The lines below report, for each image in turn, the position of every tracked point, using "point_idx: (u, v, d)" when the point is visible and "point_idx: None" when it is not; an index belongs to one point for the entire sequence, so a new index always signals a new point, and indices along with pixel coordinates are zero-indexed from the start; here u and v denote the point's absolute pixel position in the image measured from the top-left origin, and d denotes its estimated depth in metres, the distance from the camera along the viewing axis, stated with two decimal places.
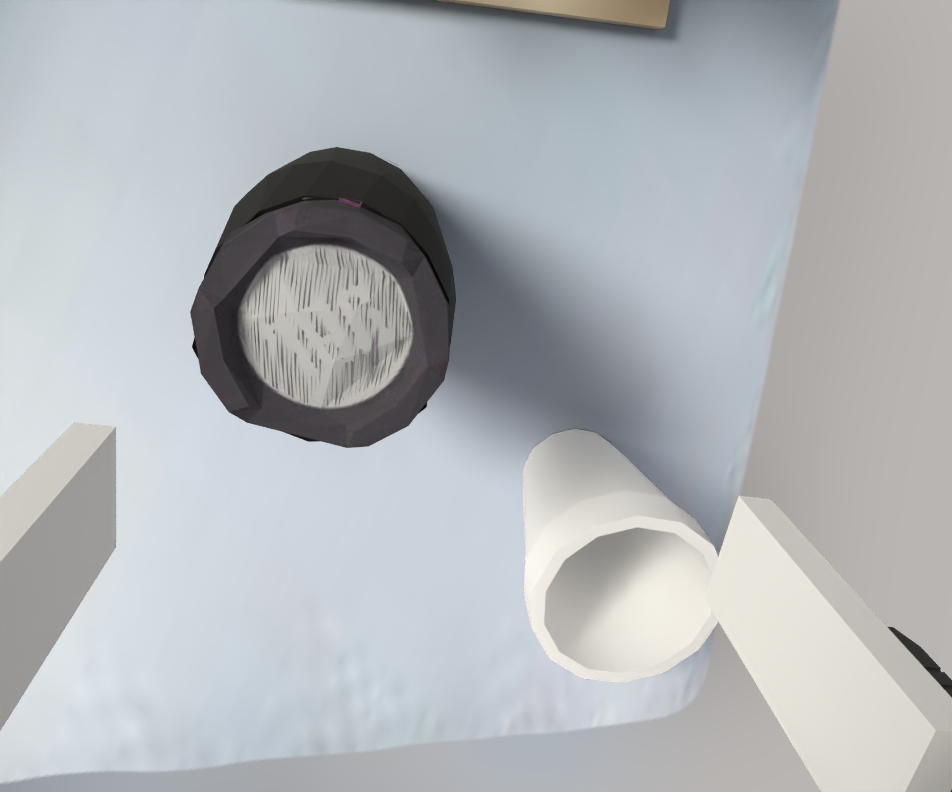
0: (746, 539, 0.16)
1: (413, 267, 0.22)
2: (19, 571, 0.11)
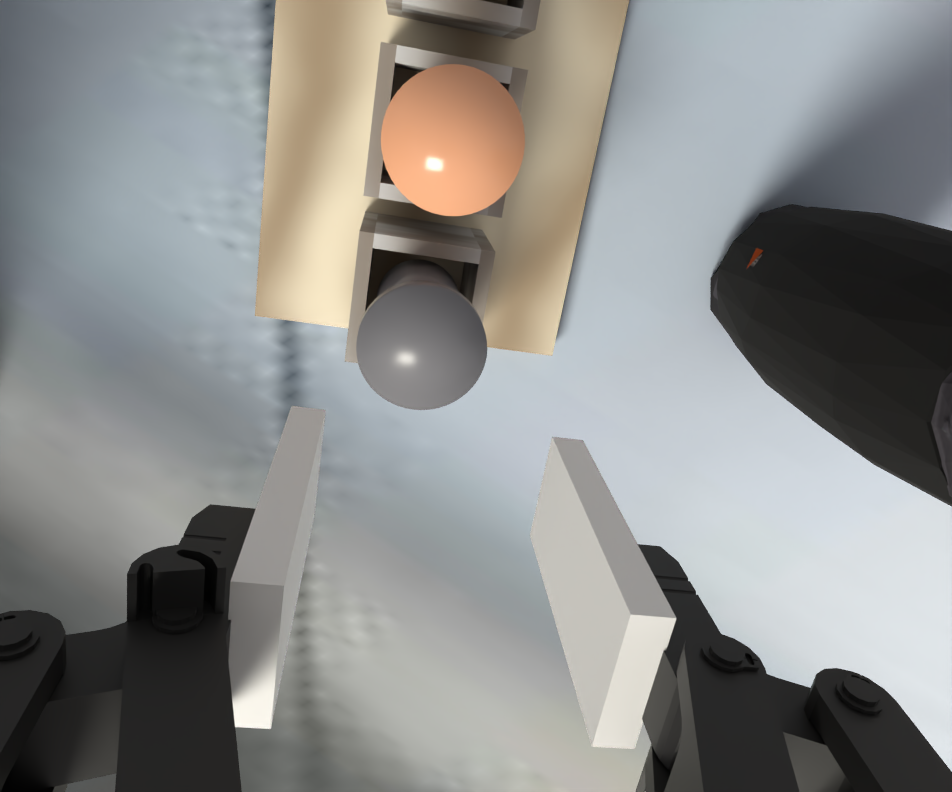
0: (553, 475, 0.17)
1: None
2: (302, 523, 0.13)
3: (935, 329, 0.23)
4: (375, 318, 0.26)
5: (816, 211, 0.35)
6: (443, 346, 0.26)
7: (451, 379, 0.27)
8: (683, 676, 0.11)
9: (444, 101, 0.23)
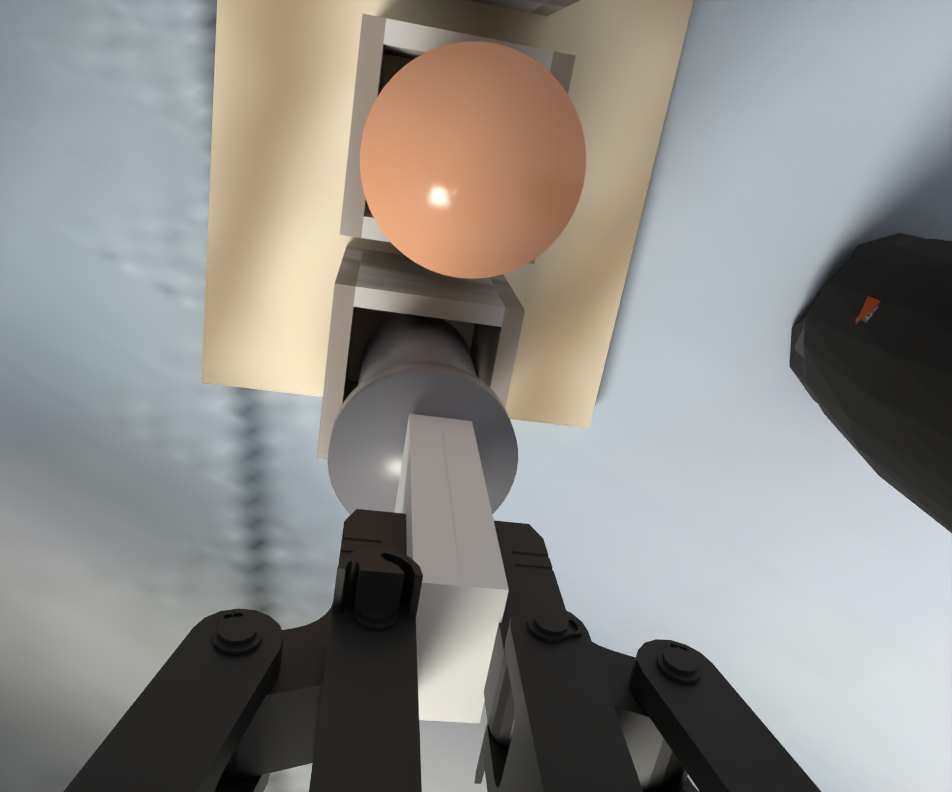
0: None
1: None
2: None
3: None
4: (356, 419, 0.18)
5: (945, 246, 0.26)
6: None
7: None
8: (511, 655, 0.11)
9: (460, 101, 0.15)
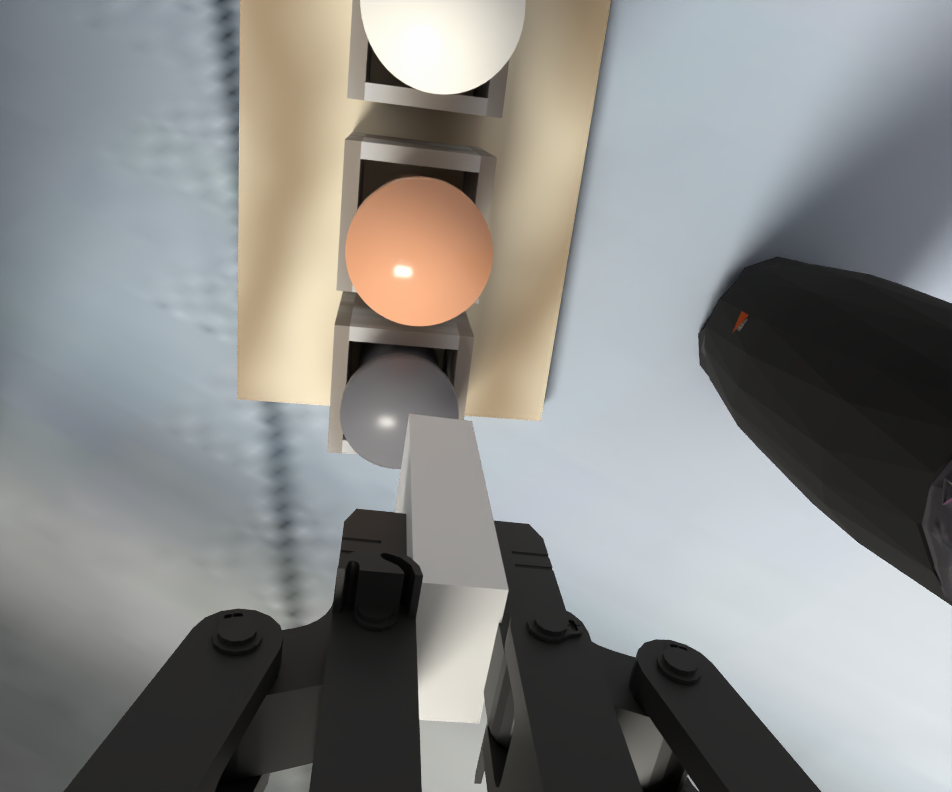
0: None
1: None
2: None
3: (922, 426, 0.23)
4: (356, 391, 0.29)
5: (801, 269, 0.34)
6: (418, 412, 0.29)
7: None
8: (511, 655, 0.11)
9: (408, 215, 0.23)
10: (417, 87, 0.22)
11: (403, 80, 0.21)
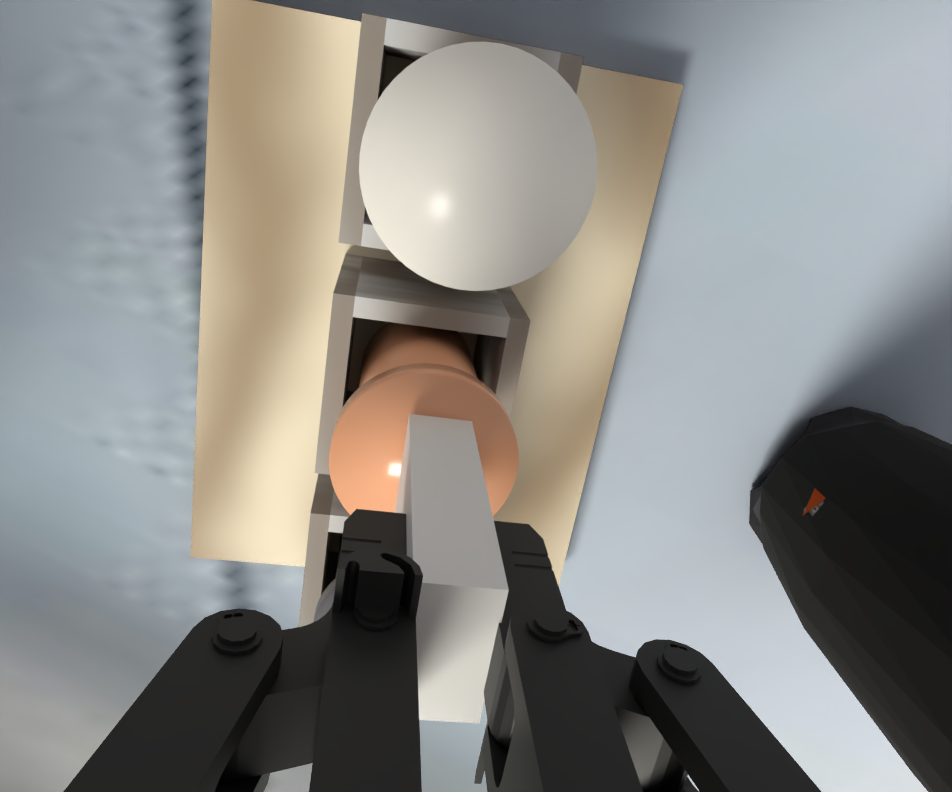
0: None
1: None
2: None
3: None
4: None
5: (888, 439, 0.28)
6: None
7: None
8: (511, 655, 0.11)
9: None
10: (435, 280, 0.15)
11: (416, 270, 0.15)
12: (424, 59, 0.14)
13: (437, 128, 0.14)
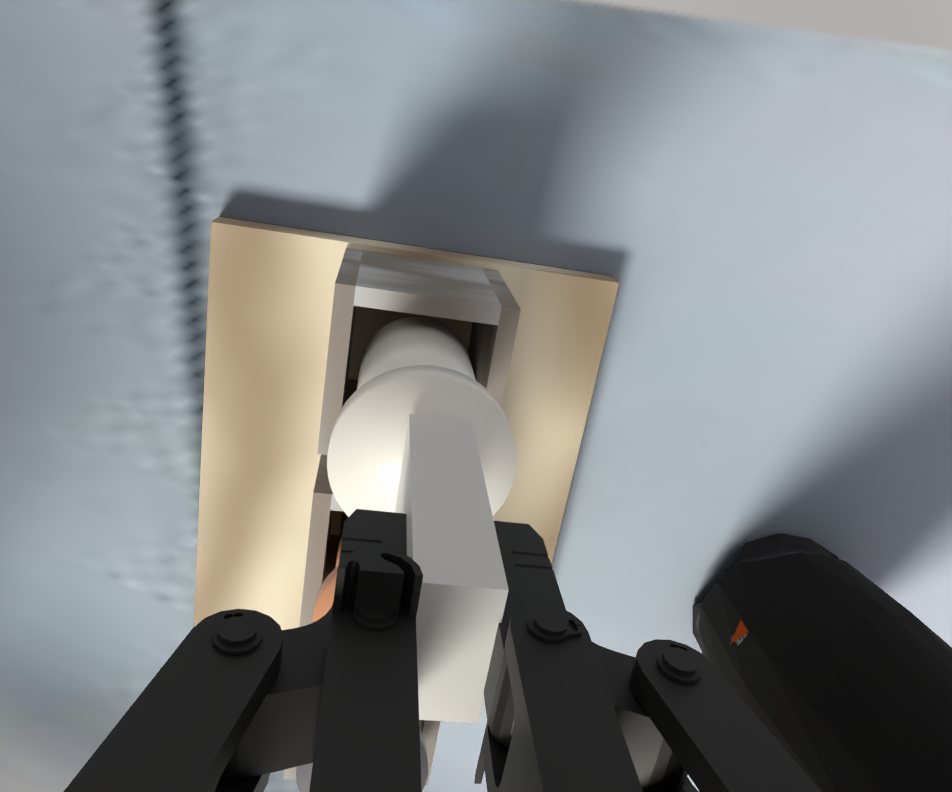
0: None
1: None
2: None
3: None
4: None
5: (806, 574, 0.32)
6: None
7: None
8: (511, 655, 0.11)
9: None
10: None
11: None
12: (377, 389, 0.17)
13: (388, 436, 0.18)
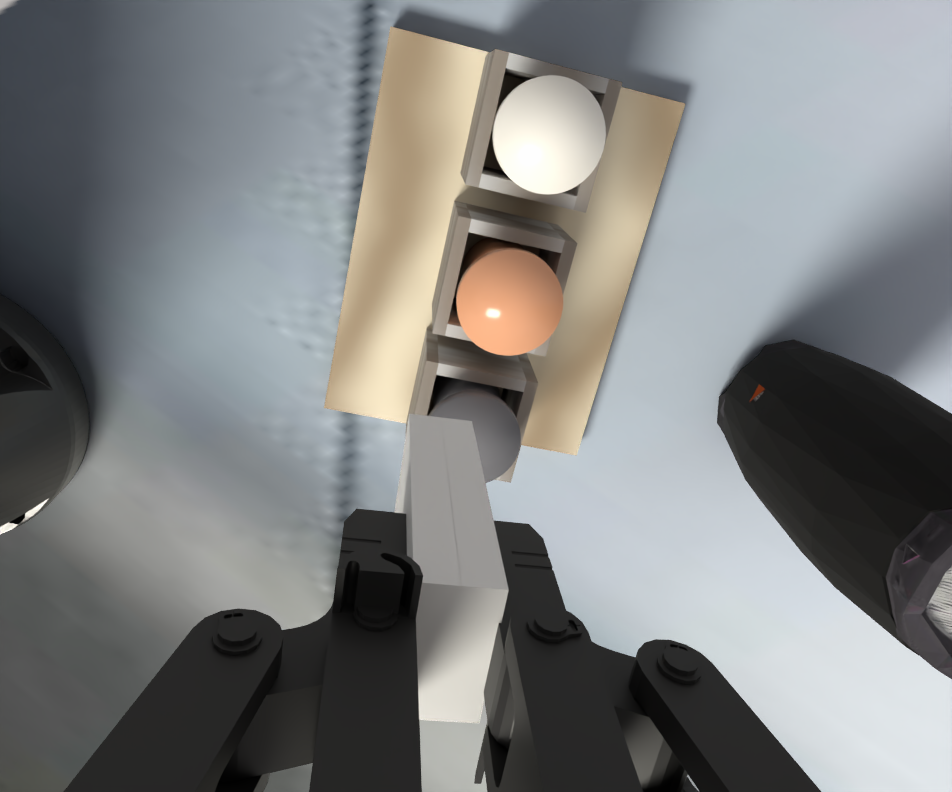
0: None
1: None
2: None
3: (894, 501, 0.29)
4: None
5: (813, 355, 0.41)
6: (488, 440, 0.35)
7: (492, 464, 0.36)
8: (511, 655, 0.11)
9: (506, 276, 0.32)
10: (524, 187, 0.31)
11: (515, 181, 0.31)
12: (529, 81, 0.30)
13: (532, 113, 0.30)
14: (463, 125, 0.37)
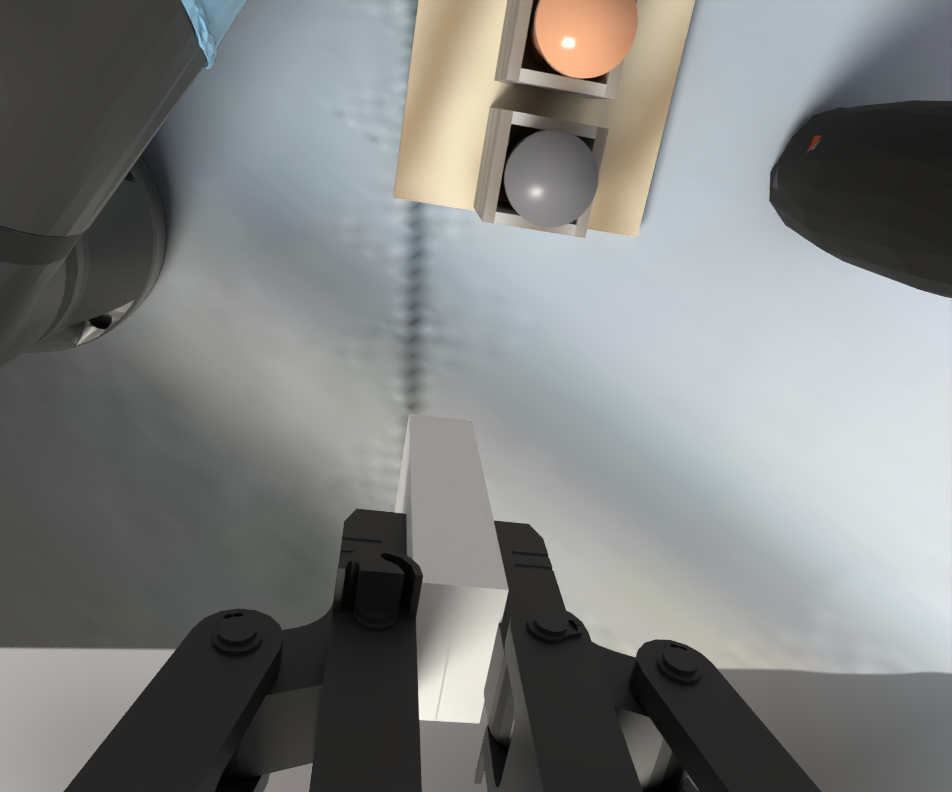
0: None
1: None
2: None
3: None
4: (521, 155, 0.36)
5: (864, 106, 0.42)
6: (567, 178, 0.37)
7: (571, 203, 0.37)
8: (511, 655, 0.11)
9: None
10: None
11: None
12: None
13: None
14: None
